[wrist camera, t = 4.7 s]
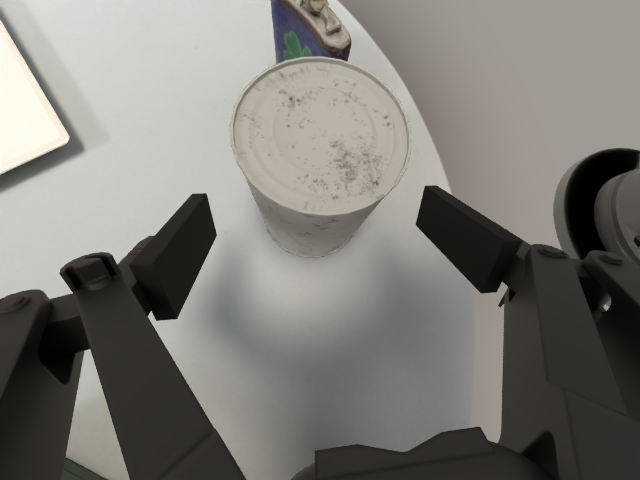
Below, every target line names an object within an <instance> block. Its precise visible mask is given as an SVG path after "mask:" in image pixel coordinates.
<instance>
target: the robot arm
mask: <svg viewBox="0 0 640 480" xmlns="http://www.w3.org/2000/svg"><path fill="white" fill-rule="evenodd" d="M594 220H595V225H596V229H597V232H598V235H599V238H600V240H601V242H602V244H603V246H604V248H605V250H606V251H607V252H605V251H598V250H593V251H590V252H589V253H588V255H587V256H586V257H585V259H584V260H578V259H571V258H570V256H569V255H568V254H567V253H565V252H563V251H562V250H559V249H557V248H554V247H552V246H547V245H542V244H534V245H530V244H528V243H526V242H525V241H523V240H522V239H520V238H519V237H517V236H515V235H514V234H512V233H510V232H509V231H508V230H506V229H504V228H503V227H501V226H500V225H498V224H496V223H495V222H493V221H491V220H490V219H488V218H487V217H485V216H483V215H482V214H480V213H479V212H477V211H476V210H474V209H472V208H471V207H469V206H467V205H466V204H465V203H463V202H461V201H460V200H458V199H457V198H455V197H454V196H452V195H451V194H449V193H447V192H446V191H444V190H443V189H441V188H440V187H438V186H425V188H424V192H423V196H422V201H421V205H420V209H419V213H418V217H417V222H416V226H417V227H418V228H419V229H420V230H421V231H422V232H423V233H424V234H425V235H426V236H427V237H428V238H429V239H430V240H431V242H432V243H433V244H434V245H435V246H436V247H437V248H438V249H439V250H440V251H441V252H442V253H443V254H444V255H445V256H446V257H447V258H448V259H449V260H450V261H451V262H452V263H453V265H454V266H455V267H456V268H457V269H458V270H459V271H460V272H461V273H462V274H463V275H464V276H465V277H466V278H467V279H468V280H469V281H470V282H471V283H472V284H473V285H474V286H475V287H476V289H477V290H478V291H479V292H480V293H491V292H497V290H498V288H499V286H500V284H501V282H502V281H503V282H504V283H505V284H506V285H507V286H508V289H507V291H506V293H505V294H504V296H503V298H502V300H501V302H500V303H499V305H498V306H499V307H501V306H502V305H503V304H505V305H504V345H503V346H504V347H503V386H502V387H503V388H502V427H501V436H500V440H499V442H498V443H494V442H491V441H488V440H487V438H486V436H485V435H484V433H483V431H482V429H481V428H480V427H474V428H467V429H460V430H453V431H446V432H441V433H439V434H438V435H436V436H434V437H432V438H431V439H429V440H427V441H425V442H424V443H422V444H420V445H418V446H416V447H415V448H413V449H411V450H409V451H407V452H397V451H392V450H386V449H380V448H375V447H369V446H364V445H358V444H357V445H350V446H343V447H336V448H329V449H322V450H315V463H314V464H312V465H310V466H308V467H306V468H304V469H303V470H302V471H300V472H299V473H298V474H296V475H295V476H294V477H293V478H292V479H291V480H640V168H637V169H634V170H631V171H629V172H626V173H624V174H621V175H619V176H616V177H614V178H612V179H610V180H609V181H607V182H606V183H605V184H604V185H603V186H602V187H601V189H600V190H599V192H598V194H597V197H596V200H595V205H594ZM216 236H217V234H216V230H215V226H214V222H213V218H212V214H211V210H210V206H209V202H208V198H207V194H192V195H191V196H190V197H189V198H188V199H187V200H186V202H185V203H184V204H183V205H182V206H181V207H180V208H179V209H178V210H177V212H176V213H175V214H174V215H173V216H172V217H171V218H170V219H169V221H168V222H167V223H166V224H165V225H164V226H163V227H162V228H161V229H160V231H159V232H158V233H157V234H156V235H155V236H149V237H147V238H145V239H144V240H142V241H140V242H139V243H138V244H137V245H136V246H135V247H134V248H133V250H131V251H130V252H129V253H128V254H127V256H125V257H124V258H123V259H122V261H121V262H120V263H119V264H118V265H117V263H116V262H115V260H114V258H113V256H112V255H111V254H109V253H104V252H100V253H92V254H89V255H85V256H82V257H79V258H77V259H74V260H72V261H71V262H69V263H67V264H66V265H65V266H64V267H63V268H61V270H60V273H59V274H60V275H61V276H62V278H63V279H64V281H65V282H66V283H67V285H68V286H69V288H70V289H71V291H72V292H73V294H69V295H65V296H61V297H57V298H53V299H49V298H48V297H47V295H46V294H45V293H44V292H43V291H41V290H27V291H22V292H19V293H16V294H11V295H8V296H6V297H5V298H2V299H0V480H61V478H62V472H63V467H64V461H65V456H66V450H67V444H68V439H69V433H70V428H71V422H72V417H73V411H74V405H75V400H76V394H77V389H78V383H79V378H80V372H81V366H82V361H83V355H84V350H88V349H91V352H92V356H93V359H94V362H95V366H96V369H97V372H98V375H99V379H100V382H101V385H102V389H103V392H104V395H105V398H106V402H107V405H108V408H109V412H110V415H111V418H112V421H113V425H114V428H115V431H116V435H117V438H118V441H119V444H120V448H121V451H122V454H123V458H124V461H125V464H126V467H127V471H128V474H129V477H130V480H246V478H245V476H244V475H243V473H242V471H241V470H240V468H239V466H238V465H237V463H236V461H235V460H234V458H233V456H232V455H231V453H230V451H229V450H228V448H227V446H226V445H225V443H224V441H223V440H222V438H221V437H220V435H219V433H218V432H217V430H216V429H215V428H214V427H213V425H212V424H211V422H210V421H209V419H208V417H207V416H206V414H205V412H204V411H203V409H202V407H201V406H200V404H199V402H198V400H197V399H196V397H195V395H194V394H193V392H192V390H191V389H190V387H189V385H188V384H187V382H186V380H185V379H184V377H183V375H182V374H181V372H180V370H179V369H178V367H177V365H176V364H175V362H174V360H173V359H172V357H171V355H170V354H169V352H168V350H167V348H166V347H165V345H164V343H163V342H162V340H161V338H160V337H159V335H158V333H157V332H156V330H155V328H154V327H153V325H152V323H151V322H150V320H149V318H148V317H147V316H148V315H149V313H150V311H152V313H153V315H154V317H155V319H156V321H158V320H170V319H177V318H178V316H179V313H180V311H181V309H182V307H183V305H184V303H185V301H186V299H187V297H188V295H189V292H190V290H191V288H192V286H193V284H194V282H195V280H196V278H197V276H198V274H199V271H200V269H201V267H202V265H203V263H204V261H205V259H206V257H207V255H208V253H209V250H210V248H211V246H212V244H213V242H214V240H215V238H216ZM610 298H611V301H612V302H611V306H610V307H609V309H608V310H607V311H606V310H605V309H604V308H603V306H604V305H605V304H606V303H607V301H608V300H609V299H610Z"/></svg>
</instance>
